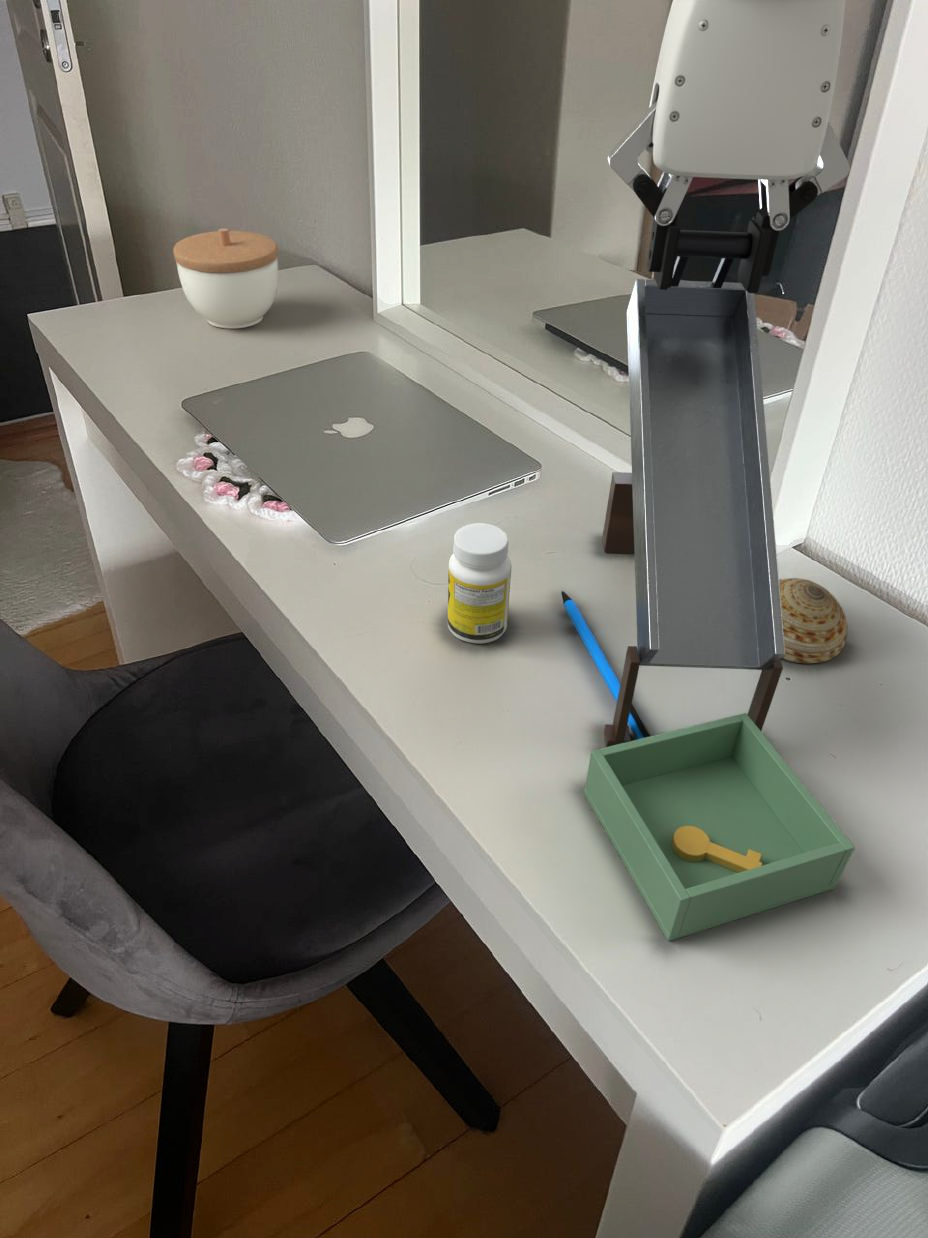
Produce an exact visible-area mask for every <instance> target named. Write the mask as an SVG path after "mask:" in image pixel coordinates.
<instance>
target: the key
mask: <svg viewBox="0 0 928 1238" xmlns="http://www.w3.org/2000/svg"><path fill="white" fill-rule="evenodd" d="M672 848H673V850H674V852H675V853H676V854H677V855H678V856H679V857H680V858H682V859H683V860H686V861H689V862H698V861H701V860H703V859H706V860H709V861H711V862H713V863H716V864H718V865H721V866H723V867H726V868H728V869H730V870H733V871H735V872H738V873H740V872H743V871H746V870H750V869H753V868H756V867H760V866H762V865H763V864H762V862H760V859H761V856H762V854H760V853H758V852H755V851H753V850H750V849H749V850H748V852H747V855H746V856H744V855H742V854H739V853H737V852H734V851H732V850H729V849H727V848H724V847H722V846H719V845H717V844H714V843H712V842H710V840H709V837H708V836H707V834H706V833H705V832H704V831H702V830H701V829H699V828H697V827H694V826H683V827H680V828H679V829H677V830H676V832H675V833H674V836H673V840H672Z"/></svg>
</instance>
